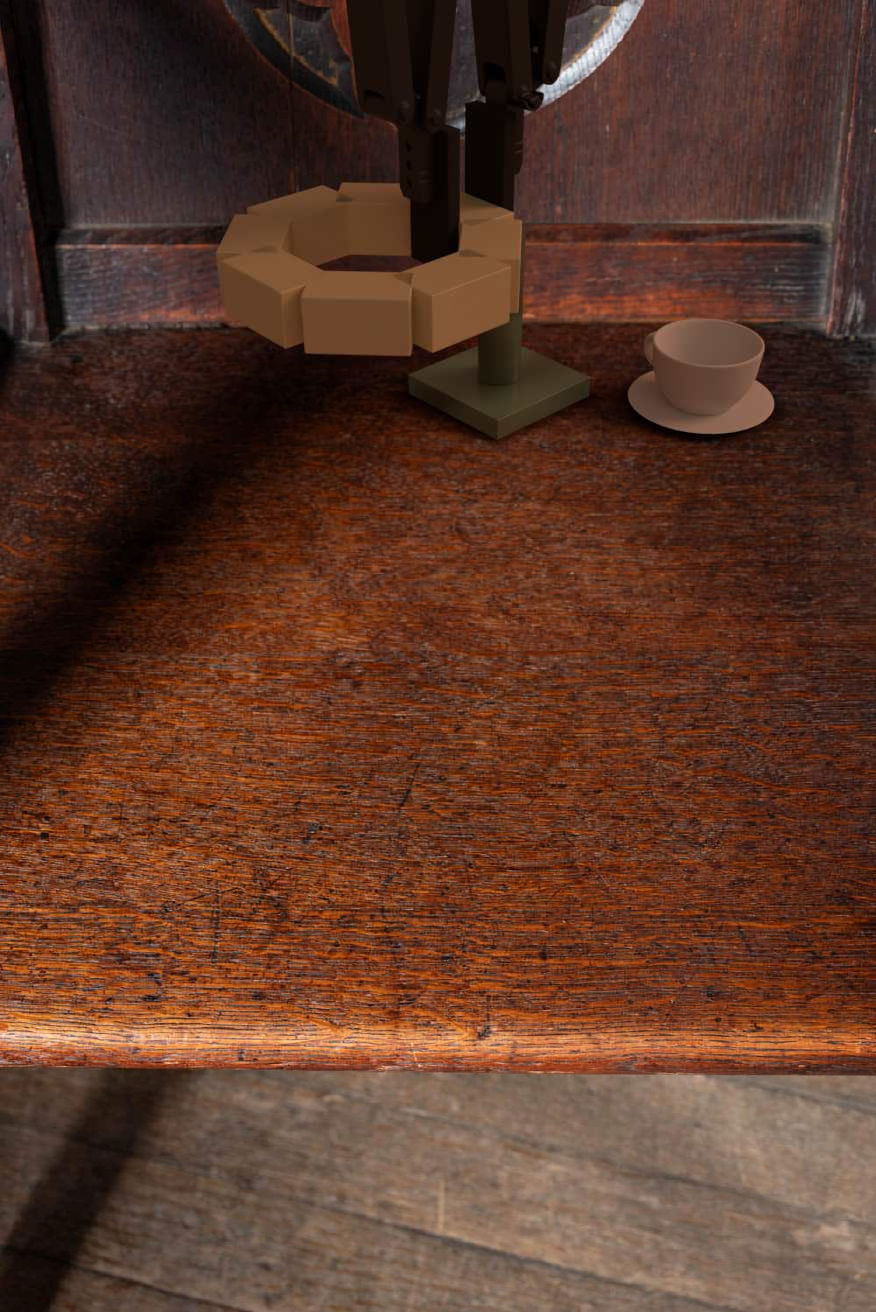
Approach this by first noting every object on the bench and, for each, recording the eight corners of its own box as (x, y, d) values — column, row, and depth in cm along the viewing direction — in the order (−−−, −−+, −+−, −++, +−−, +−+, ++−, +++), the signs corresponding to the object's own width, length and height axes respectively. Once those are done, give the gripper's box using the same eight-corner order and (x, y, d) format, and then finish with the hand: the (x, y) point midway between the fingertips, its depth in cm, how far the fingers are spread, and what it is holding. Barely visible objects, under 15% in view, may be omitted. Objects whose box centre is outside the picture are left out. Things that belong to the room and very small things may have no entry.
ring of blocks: (173, 285, 60) (165, 231, 58) (393, 213, 66) (392, 163, 65) (349, 387, 52) (346, 328, 50) (579, 294, 59) (583, 239, 57)
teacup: (801, 403, 87) (813, 340, 84) (716, 456, 82) (725, 391, 79) (684, 358, 93) (692, 297, 90) (597, 404, 87) (602, 342, 84)
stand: (408, 393, 89) (404, 233, 82) (500, 354, 94) (503, 199, 86) (497, 440, 84) (500, 273, 76) (589, 396, 88) (600, 235, 81)
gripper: (359, -358, 40) (385, 326, 55) (682, -366, 48) (628, 234, 63) (228, -359, 45) (285, 275, 60) (544, -366, 53) (524, 195, 68)
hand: (462, 253), depth 62 cm, fingers closed on ring of blocks, 3 cm apart
